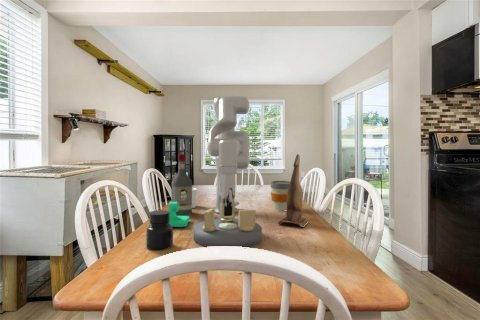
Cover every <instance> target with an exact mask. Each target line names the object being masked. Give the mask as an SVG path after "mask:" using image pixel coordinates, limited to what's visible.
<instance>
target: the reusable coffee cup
mask: <svg viewBox="0 0 480 320" xmlns="http://www.w3.org/2000/svg"><path fill="white" fill-rule="evenodd" d="M289 184H290V180H289V181H288V180H287V181H286V180H273V181H271V182H270V190H271V191H270V196H271V201H272V209H273V210H274V211H276V210H279V211H278V212H285V211H284V210H287V192H288V188H289Z"/></svg>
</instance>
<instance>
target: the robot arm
mask: <svg viewBox="0 0 480 320" xmlns="http://www.w3.org/2000/svg"><path fill="white" fill-rule="evenodd" d="M249 109H250V102H249V99H248V97H247V96H239V95H238V96H237V95H235V96H234V95H221V96H217V97H215V98H214V99H213V110H214V112H215V113H214V114H215V116H216V119H217V121H216V122H215V123H214V124H213V126H212V127H210V130H209V132H208V135H207V152H208V154H209V155H210V157H215V158H214V159H215V169H216V207H214V208H213V209H214V213H217V214H220V203H225V206H224V216H232V203H235V214H236V213H238V208H237V206H239V205H240V202H239V201H236V199H235V198H236V175H237V174H238V170H241V171H242V170H246V169H248V168H249V164H250V147H249V146H250V142H249V141H250V140H249V134H248V133H247V132H246V131H243V130H236V129H235V127H236V126H237V124H238V120H237V118H238V116H237V115H247V114H248V113H249ZM216 137H218V138H216Z"/></svg>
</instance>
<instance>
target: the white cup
mask: <svg viewBox="0 0 480 320" xmlns="http://www.w3.org/2000/svg"><path fill="white" fill-rule="evenodd" d="M197 199H198V189H197V188H195V187H192V209H193V208H197Z"/></svg>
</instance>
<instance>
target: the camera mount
mask: <svg viewBox="0 0 480 320" xmlns="http://www.w3.org/2000/svg"><path fill="white" fill-rule="evenodd" d="M167 211H169V212H170V222H169V224H170V225H171V226H172V227H173V228H174V227H175V228H177V227H178V228H179V227H180V228H182V227H188V224H189V221H190V215H185V216H176V212H178V202H172V201H169V204H168V209H167Z"/></svg>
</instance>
